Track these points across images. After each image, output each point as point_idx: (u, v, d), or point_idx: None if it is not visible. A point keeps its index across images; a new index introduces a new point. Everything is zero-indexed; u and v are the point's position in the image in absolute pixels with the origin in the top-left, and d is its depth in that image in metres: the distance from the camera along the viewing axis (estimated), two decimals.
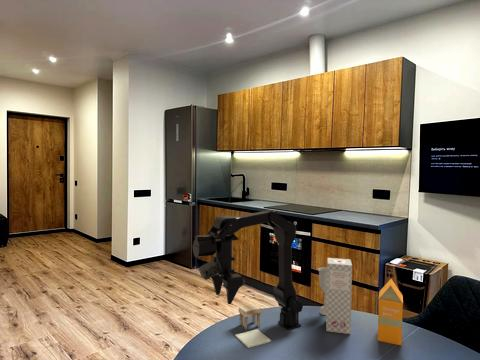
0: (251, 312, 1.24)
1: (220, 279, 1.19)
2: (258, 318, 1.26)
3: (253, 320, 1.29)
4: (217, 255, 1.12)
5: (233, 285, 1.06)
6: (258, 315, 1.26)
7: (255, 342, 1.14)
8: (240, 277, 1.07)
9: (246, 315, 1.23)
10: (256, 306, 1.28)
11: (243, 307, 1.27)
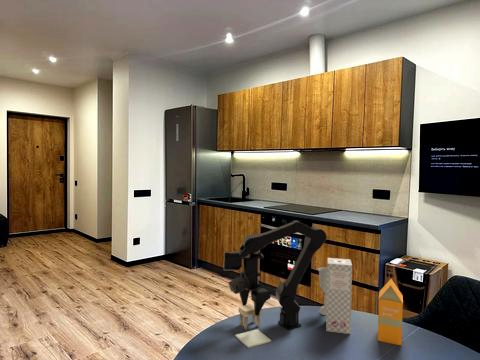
0: (251, 312, 1.24)
1: (246, 292, 1.32)
2: (258, 318, 1.26)
3: (253, 320, 1.29)
4: (245, 271, 1.25)
5: (261, 299, 1.18)
6: (258, 315, 1.26)
7: (255, 342, 1.14)
8: (267, 292, 1.19)
9: (246, 315, 1.23)
10: None
11: (243, 307, 1.27)
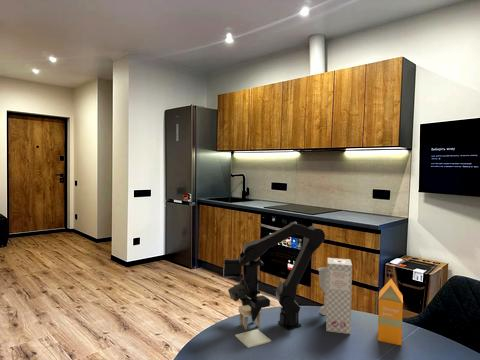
0: None
1: (248, 301, 1.30)
2: (258, 318, 1.26)
3: None
4: (244, 278, 1.25)
5: (261, 306, 1.18)
6: (258, 315, 1.26)
7: (255, 342, 1.14)
8: (266, 299, 1.20)
9: (246, 315, 1.23)
10: None
11: (243, 307, 1.27)
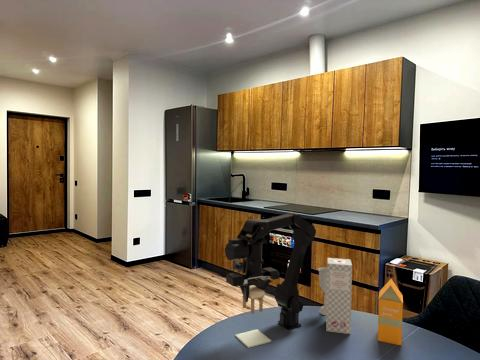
0: None
1: (261, 285, 1.18)
2: (251, 303, 1.14)
3: (259, 308, 1.16)
4: None
5: (228, 281, 1.14)
6: (251, 300, 1.14)
7: (255, 342, 1.14)
8: (232, 277, 1.11)
9: None
10: (256, 291, 1.15)
11: (251, 286, 1.20)
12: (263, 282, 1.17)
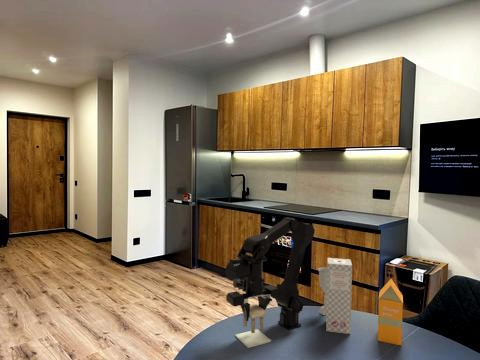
0: None
1: (262, 304, 1.17)
2: (251, 323, 1.14)
3: (260, 327, 1.16)
4: None
5: (228, 300, 1.13)
6: (251, 319, 1.14)
7: (255, 342, 1.14)
8: (232, 297, 1.11)
9: None
10: (256, 310, 1.15)
11: (252, 305, 1.19)
12: (264, 301, 1.17)
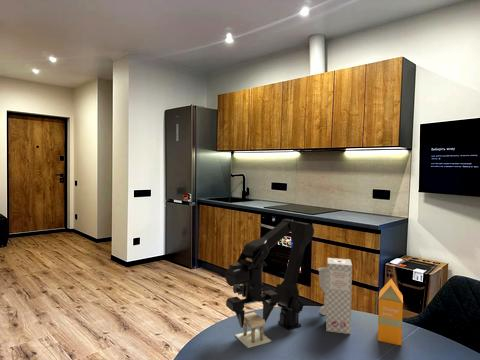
0: (246, 320, 1.17)
1: (267, 308, 1.18)
2: (251, 332, 1.14)
3: (260, 336, 1.16)
4: None
5: (228, 306, 1.13)
6: (251, 329, 1.14)
7: (255, 342, 1.14)
8: (232, 302, 1.11)
9: None
10: (256, 320, 1.15)
11: (252, 314, 1.20)
12: (268, 305, 1.18)
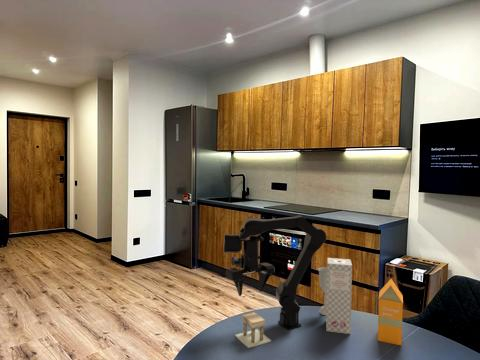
0: (246, 320, 1.17)
1: (263, 278, 1.28)
2: (251, 332, 1.14)
3: (260, 336, 1.16)
4: None
5: (227, 276, 1.23)
6: (251, 329, 1.14)
7: (255, 342, 1.14)
8: (232, 272, 1.20)
9: (242, 319, 1.19)
10: (256, 320, 1.15)
11: (252, 314, 1.20)
12: (264, 275, 1.28)
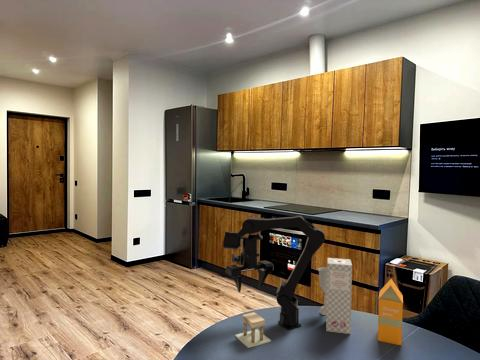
0: (246, 320, 1.17)
1: (262, 275, 1.32)
2: (251, 332, 1.14)
3: (260, 336, 1.16)
4: None
5: (227, 272, 1.27)
6: (251, 329, 1.14)
7: (255, 342, 1.14)
8: (231, 268, 1.25)
9: (242, 319, 1.19)
10: (256, 320, 1.15)
11: (252, 314, 1.20)
12: (263, 273, 1.32)
